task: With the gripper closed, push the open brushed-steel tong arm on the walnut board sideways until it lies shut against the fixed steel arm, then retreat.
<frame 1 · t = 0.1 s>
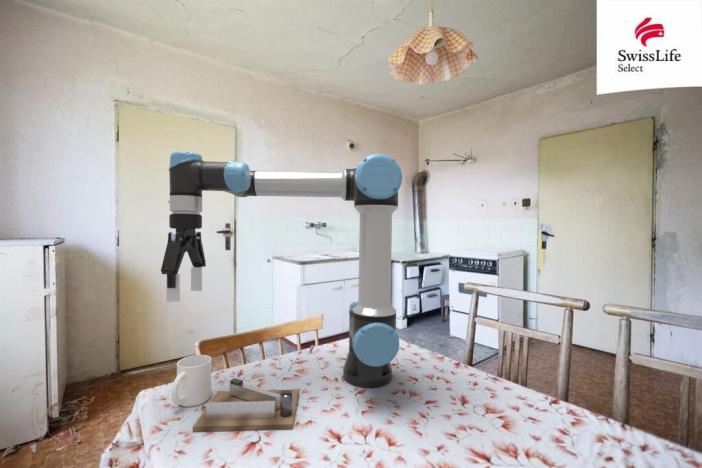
hand: (185, 295, 85), 28 cm above the table, fingers open, 13 cm apart
board: (251, 410, 82), on the table
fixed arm: (285, 421, 77), resting on board
tong arm: (254, 393, 84), point 3 cm above the table, hinge at -30.0°
mug: (189, 403, 85), on the table
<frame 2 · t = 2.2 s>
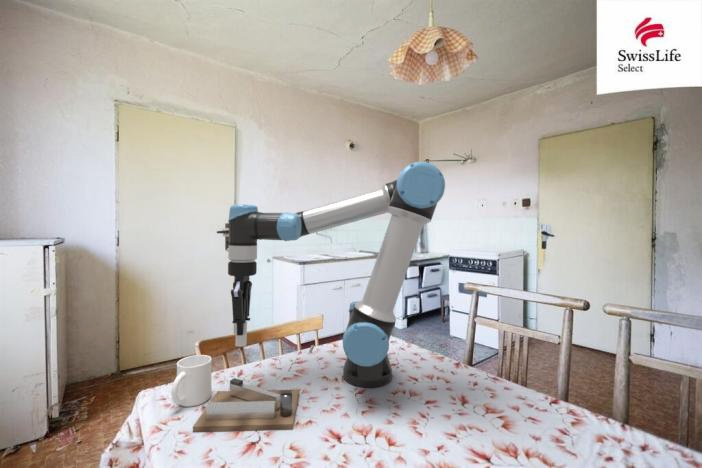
hand: (241, 345, 91), 13 cm above the table, fingers closed
nothing on the table moved.
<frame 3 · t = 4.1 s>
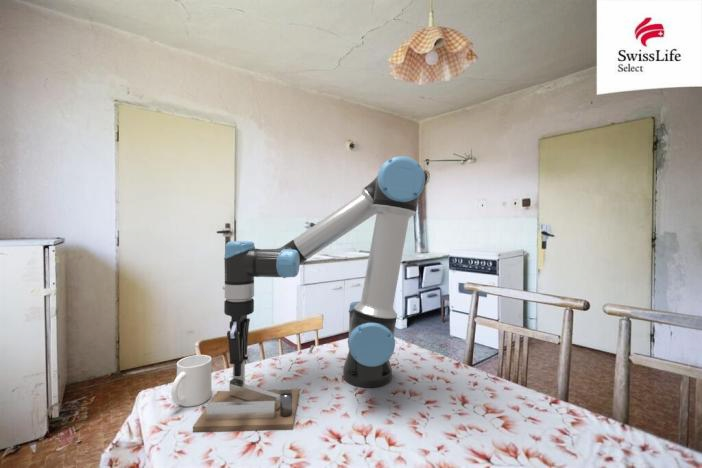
hand: (238, 385, 88), 3 cm above the table, fingers closed
tong arm: (254, 393, 84), point 3 cm above the table, hinge at -29.7°, touching gripper
everything else where it was.
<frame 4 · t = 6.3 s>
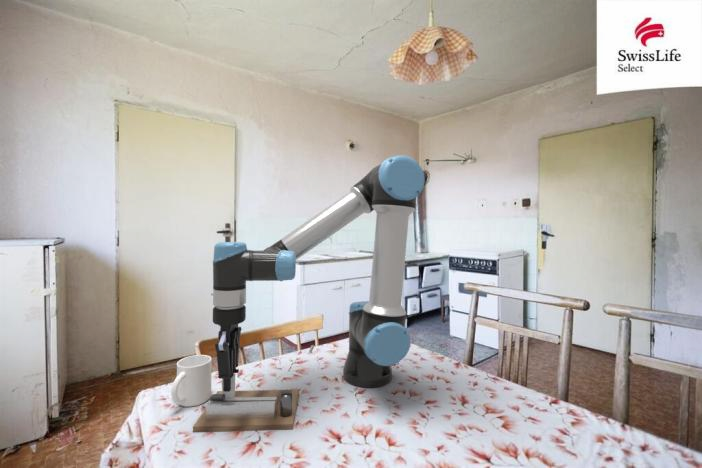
hand: (228, 401, 80), 3 cm above the table, fingers closed
tong arm: (243, 403, 79), point 3 cm above the table, hinge at -1.5°, touching gripper
everything else where it was.
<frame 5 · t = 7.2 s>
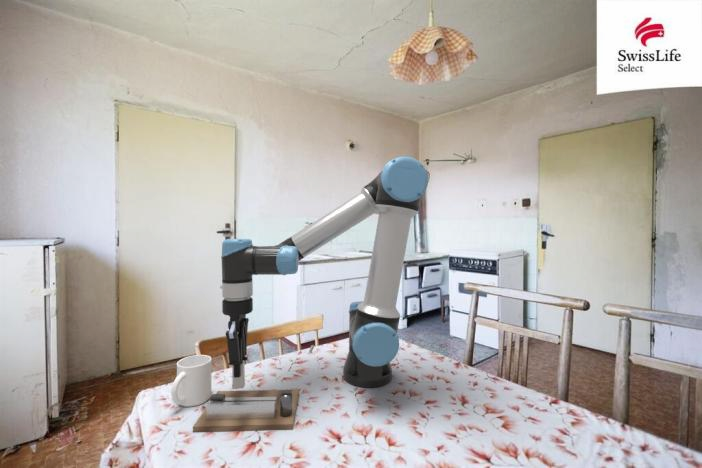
hand: (238, 387, 86), 4 cm above the table, fingers closed
tong arm: (243, 403, 79), point 3 cm above the table, hinge at -1.4°
everything else where it was.
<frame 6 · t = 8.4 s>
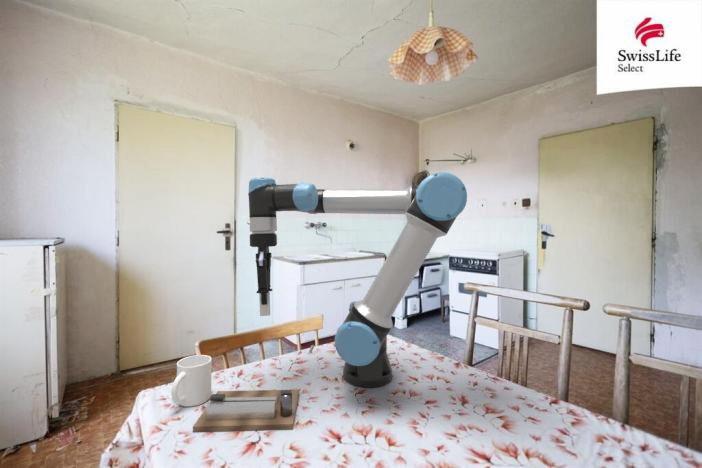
hand: (265, 315, 94), 21 cm above the table, fingers closed
nothing on the table moved.
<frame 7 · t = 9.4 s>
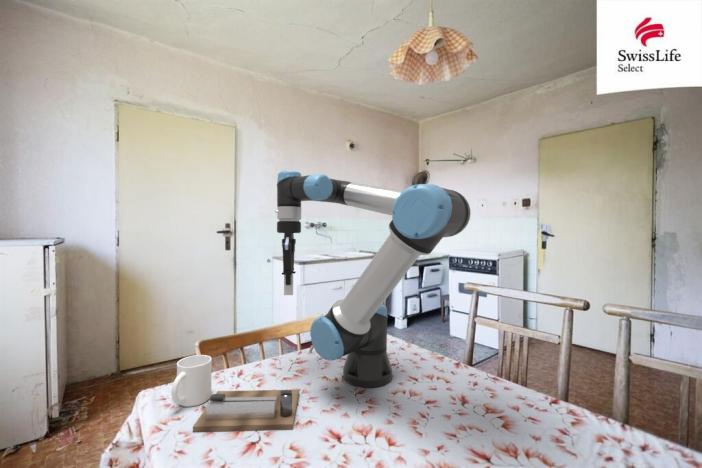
hand: (288, 294, 105), 24 cm above the table, fingers closed
nothing on the table moved.
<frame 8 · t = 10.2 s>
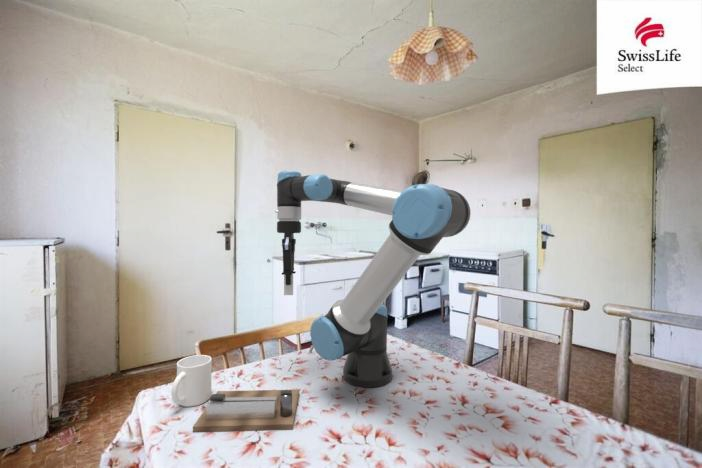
hand: (288, 294, 105), 24 cm above the table, fingers closed
nothing on the table moved.
at the end: tong arm at -1° (first picture: -30°); the gripper is holding nothing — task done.
